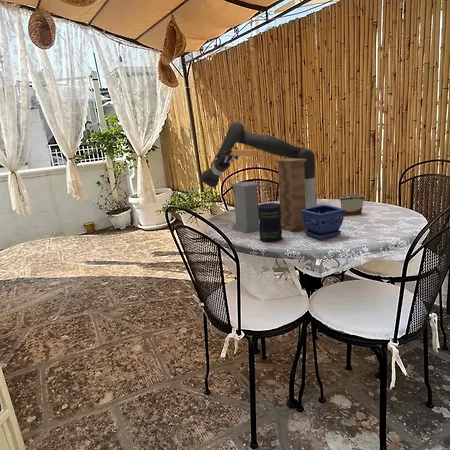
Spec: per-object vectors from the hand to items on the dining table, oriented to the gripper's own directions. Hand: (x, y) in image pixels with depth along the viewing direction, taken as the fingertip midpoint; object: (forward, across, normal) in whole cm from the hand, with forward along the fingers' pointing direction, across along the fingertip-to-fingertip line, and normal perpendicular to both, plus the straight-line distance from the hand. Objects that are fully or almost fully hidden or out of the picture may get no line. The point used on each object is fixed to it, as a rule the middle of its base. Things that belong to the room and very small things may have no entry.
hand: (233, 149), depth 172 cm
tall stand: (+1, +16, +44) cm, 47 cm away
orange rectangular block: (+4, 0, +6) cm, 7 cm away
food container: (+2, +52, +45) cm, 69 cm away
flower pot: (+17, +17, +54) cm, 59 cm away
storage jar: (+6, -2, +48) cm, 48 cm away
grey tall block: (-12, 0, +37) cm, 39 cm away
